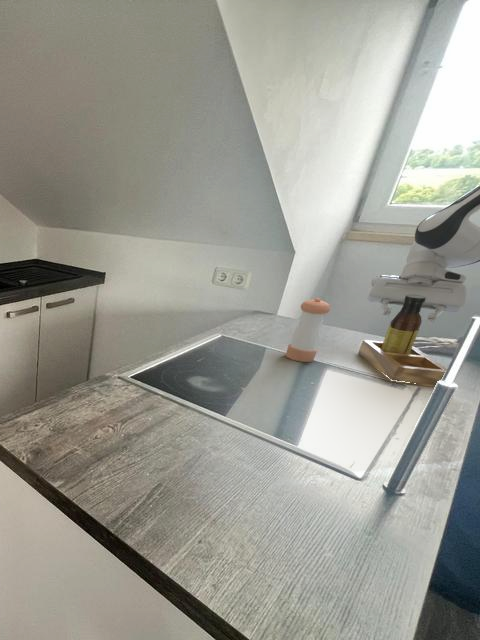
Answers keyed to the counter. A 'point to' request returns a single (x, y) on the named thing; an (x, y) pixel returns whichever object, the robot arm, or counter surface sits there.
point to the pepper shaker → (308, 331)
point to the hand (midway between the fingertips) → (407, 317)
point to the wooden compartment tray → (403, 364)
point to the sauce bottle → (404, 326)
